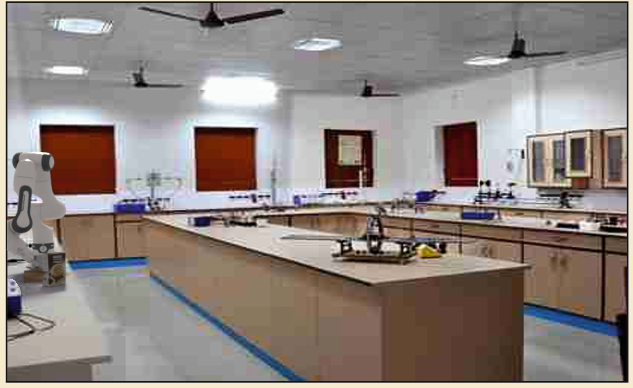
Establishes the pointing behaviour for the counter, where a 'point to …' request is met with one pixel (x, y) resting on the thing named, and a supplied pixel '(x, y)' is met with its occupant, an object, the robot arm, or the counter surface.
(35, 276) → the brown wooden block
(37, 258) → the grey upright block
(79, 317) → the counter surface
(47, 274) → the coffee box
